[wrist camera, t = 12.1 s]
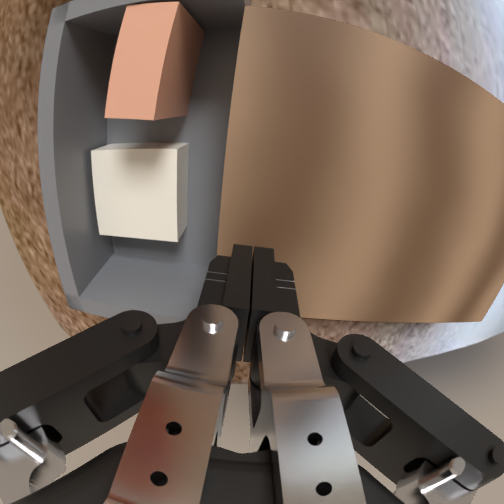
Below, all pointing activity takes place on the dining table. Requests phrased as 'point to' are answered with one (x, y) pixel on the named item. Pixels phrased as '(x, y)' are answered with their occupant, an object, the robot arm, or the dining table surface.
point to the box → (130, 131)
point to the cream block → (141, 189)
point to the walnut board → (364, 172)
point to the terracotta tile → (154, 62)
